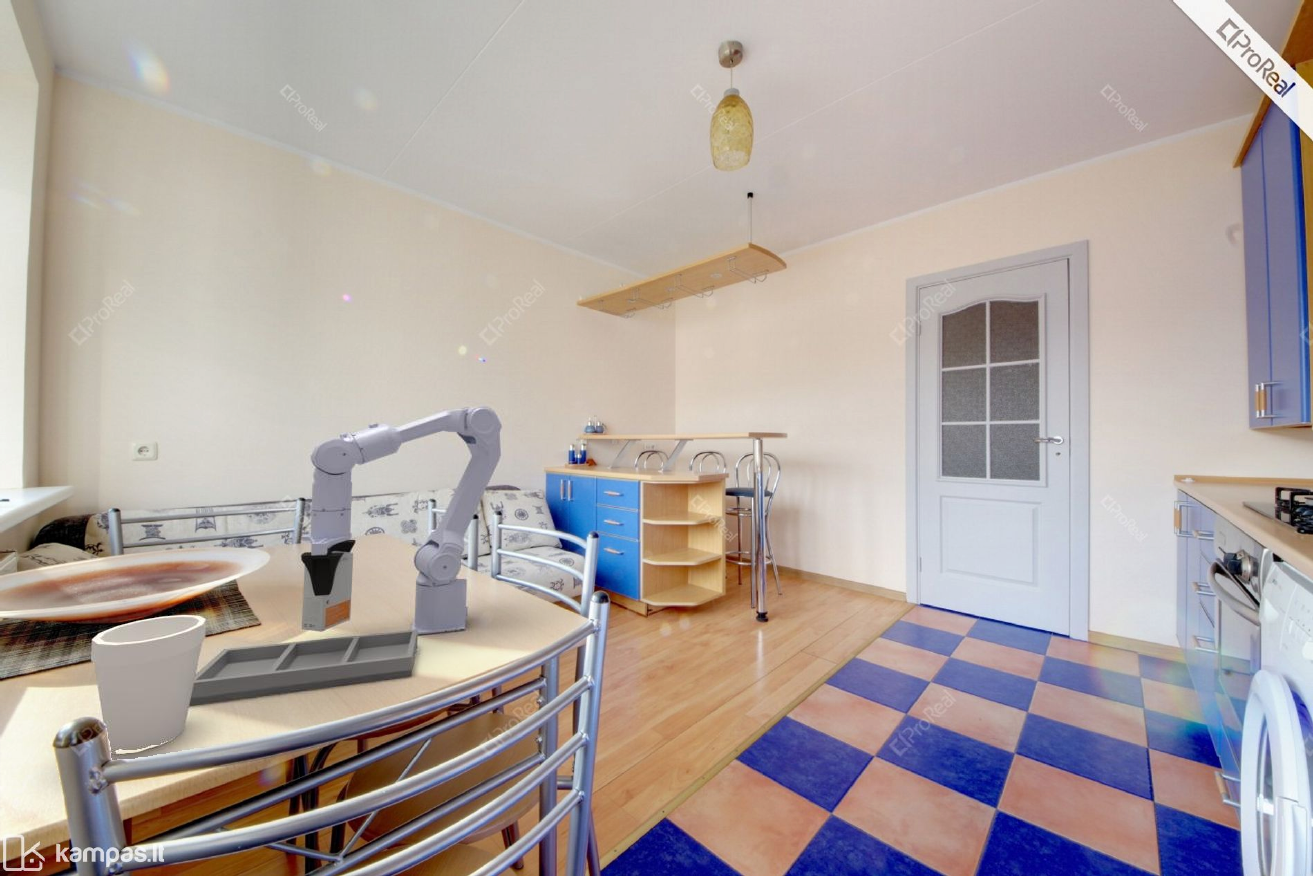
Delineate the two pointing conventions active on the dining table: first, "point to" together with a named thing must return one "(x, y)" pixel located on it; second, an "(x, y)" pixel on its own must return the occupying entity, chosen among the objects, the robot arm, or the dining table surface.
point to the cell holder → (304, 666)
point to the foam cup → (147, 678)
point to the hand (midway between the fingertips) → (328, 588)
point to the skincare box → (329, 598)
